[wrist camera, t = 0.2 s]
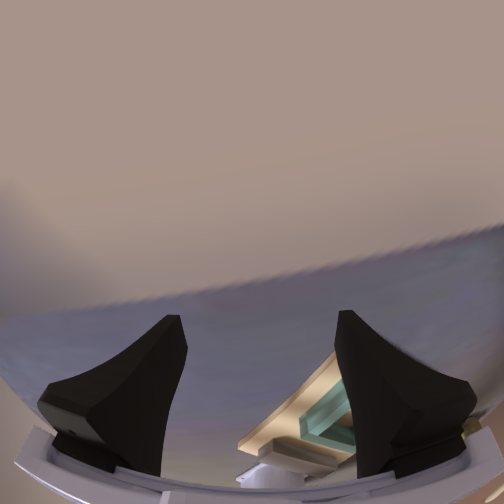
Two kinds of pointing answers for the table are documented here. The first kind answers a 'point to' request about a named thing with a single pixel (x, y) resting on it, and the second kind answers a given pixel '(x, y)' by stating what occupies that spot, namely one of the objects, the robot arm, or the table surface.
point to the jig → (308, 427)
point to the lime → (470, 427)
